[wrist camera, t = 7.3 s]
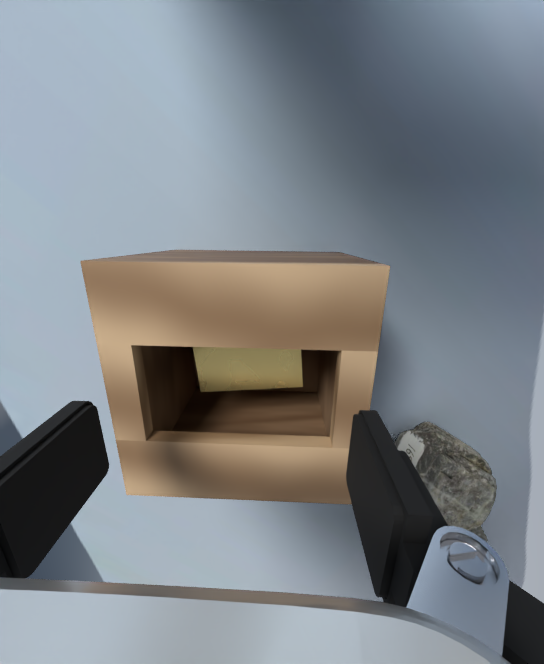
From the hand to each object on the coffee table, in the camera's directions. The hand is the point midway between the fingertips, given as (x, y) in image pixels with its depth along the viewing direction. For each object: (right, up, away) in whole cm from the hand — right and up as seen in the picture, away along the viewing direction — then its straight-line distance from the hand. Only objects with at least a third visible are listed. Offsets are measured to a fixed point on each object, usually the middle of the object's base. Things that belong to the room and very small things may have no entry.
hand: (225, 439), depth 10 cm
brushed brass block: (+1, +4, +11) cm, 12 cm away
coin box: (+1, +4, +12) cm, 13 cm away
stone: (+14, -9, +17) cm, 24 cm away
